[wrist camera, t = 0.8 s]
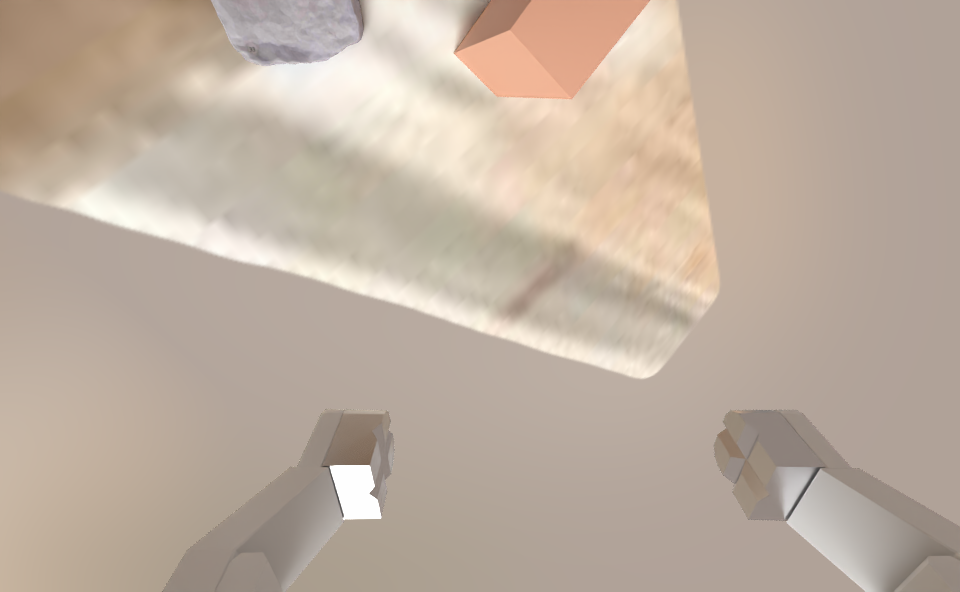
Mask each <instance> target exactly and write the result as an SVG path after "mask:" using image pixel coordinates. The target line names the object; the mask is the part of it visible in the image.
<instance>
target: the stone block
mask: <svg viewBox="0 0 960 592" xmlns="http://www.w3.org/2000/svg"><path fill="white" fill-rule="evenodd" d="M211 1H212V3H213V6H214V8H215V10H216V12H217V15H218V17H219V19H220V21H221V23H222V25H223V27H224V29H225V32H226V34H227V36H228V39H229V41H230V43H231V44H232V46H233V47H234V48H235V50H237V51H238V52H240V53H241V54H242V56H243V57H244V59H245V60H247V61H249V62H252V63H255V64H258V65H262V66H269V65H274V64H286V63H288V64H298V63H312V62H321V61H326V60H328V59H329V58H331V57H333V56H334V55H336V54H338V53H339V52H341V51H342V50H343V49H345V48H346V47H347V46H349V45H352V44H355V43H357V42H359V41H360V40H361V38H362V34H363V22H362V16H361V11H360V3H359V0H211Z"/></svg>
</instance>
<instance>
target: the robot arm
mask: <svg viewBox="0 0 960 592" xmlns="http://www.w3.org/2000/svg"><path fill="white" fill-rule="evenodd" d="M390 422H391V420H390V415H389V412H388V411H386V410H351V409H350V410H349V409H346V410H336V409H325V411H324V412H323V413H322V414H321V415H320V417H319V420H318V422H317V424H316V426H315V428H314V430H313V432H312V435H311V437H310V439H309V441H308V443H307V446H306V448H305V450H304V452H303V454H302V457H301V459H300V461H299V463H298V465H297V467H290V468H289V469H287V470H286V471H285V472H284V473H282V474H281V475H280V476H279V477H277V478H276V479H275V480H274V481H272V482H271V483H270V484H269V485H267V486H266V487H265V488H264V489H263V490H261V491H260V492H259V493H257V494H256V495H255V496H254V497H252V498H251V499H250V500H249V501H248V502H246V503H245V504H244V505H242V506H241V507H240V508H239V509H238V510H236V511H235V512H234V513H233V514H231V515H230V516H229V517H227V518H226V519H225V520H224V521H223V522H221V523H220V524H219V525H218V526H216V527H215V528H214V529H213V530H212V531H210V532H209V533H208V534H206V536H204V537H203V538H201V539H200V540H199V541H198V542H196V543H195V544H194V545H193V546H191V547H190V548H189V549H188V550H187V551H186V553H185V555H184V556H183V558H182V559H181V561H180V563H179V564H178V566H177V568H176V569H175V571H174V573H173V574H172V576H171V578H170V579H169V581H168V583H167V584H166V586H165V588H164V589H163V591H162V592H285V591H286V590H287V589H288V588H289V587H290V585H291V584H292V583H293V582H294V581H295V579H296V578H297V577H298V576H299V575H300V573H301V572H302V571H303V570H304V569H305V567H306V566H307V565H308V564H309V563H310V561H311V560H312V559H313V558H314V557H315V556H316V554H317V553H318V552H319V551H320V549H321V548H322V547H323V546H324V545H325V544H326V542H327V541H328V540H329V539H330V538H331V536H332V535H333V534H334V533H335V532H336V530H337V529H338V528H339V527H340V526H341V524H342V523H343V522H344V519H361V518H362V519H363V518H381V516H382V512H383V507H384V503H385V498H386V494H387V488H386V483H385V479H386V478H387V477H388V476H390V474H391V471H392V466H393V460H394V438H393V434H392V433H391V432H390V431H389V427H390ZM723 423H724V425H725V427H726V429H725V430H723V431H722V432H721V433H719V434H718V435H717V437H716V440H715V443H714V452H715V453H714V455H715V459H716V462H717V465H718V467H719V469H720V471H721V473H722V474H723V476H725V477H726V478H728V479H729V480H730V481H732V482H733V483H734V488H733V494H734V496H735V497H736V499H737V501H738V503H739V504H740V506H741V508H742V510H743V511H744V513H745V515H746V517H747V518H748V520H750V519H751V520H779V521H780V520H781V521H787V523H788V524H789V525H790V526H791V527H792V528H793V529H794V530H795V531H797V532H798V533H799V534H800V535H801V536H802V537H803V538H805V539H806V540H807V541H808V542H809V543H810V544H812V545H813V546H814V547H815V548H816V549H817V550H818V551H820V552H821V553H822V554H823V555H824V556H826V558H828V559H829V560H830V561H831V562H832V563H833V564H835V565H836V566H837V567H838V568H839V569H840V570H842V571H843V572H844V573H845V574H846V575H847V576H848V577H850V578H851V579H852V580H853V581H854V582H856V583H857V584H858V585H859V586H860V587H861V588H862V589H863V590H864V591H866V592H960V527H959V526H958V525H956V524H954V523H953V522H951V521H949V520H948V519H946V518H944V517H942V516H941V515H939V514H937V513H935V512H934V511H932V510H930V509H928V508H927V507H925V506H923V505H921V504H920V503H918V502H916V501H915V500H913V499H911V498H909V497H908V496H906V495H904V494H903V493H901V492H899V491H897V490H896V489H894V488H892V487H890V486H889V485H887V484H885V483H884V482H882V481H880V480H878V479H877V478H875V477H873V476H871V475H870V474H868V473H866V472H864V471H863V470H861V469H859V468H851V467H850V466H849V464H848V463H847V462H846V461H845V460H844V459H843V458H842V457H841V456H840V454H839V453H838V452H837V451H836V450H835V449H834V448H833V446H832V445H831V444H830V443H829V442H828V441H827V440H826V439H825V437H824V436H823V435H822V434H821V433H820V432H819V431H818V430H817V429H816V427H815V426H814V425H813V424H812V423H811V422H810V421H809V420H808V418H807V417H806V416H805V415H804V414H803V413H801V412H799V411H798V410H731V411H729V412H728V413H727V414H726V415H725V418H724V420H723Z"/></svg>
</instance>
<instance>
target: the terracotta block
mask: <svg viewBox="0 0 960 592" xmlns="http://www.w3.org/2000/svg"><path fill="white" fill-rule="evenodd" d="M649 1H650V0H491V1H490V3H489V4H488V5H487V7H486V8H485V10H484V11H483V12H482V14H481V15H480V17H479V18H478V19H477V21H476V22H475V24H474V25H473V26H472V28H471V29H470V31H469V32H468V34H467V35H466V36H465V38H464V39H463V41H462V42H461V43H460V45H459V46H458V48H457V49H456V50H455V52H454V54H455V55H456V56H457V57H458V58H459V59H460V60H461V61H462V62H463V63H464V64H465V65H466V66H467V67H468V68H469V69H470V70H471V71H472V72H473V73H474V74H475V75H476V76H477V77H478V78H479V79H480V80H481V81H482V82H483V83H484V84H485V85H486V86H487V87H488V88H489V89H490V90H491V91H492V92H493V93H494V94H495V95H496V96H497V97H525V98H553V99H572V98H573V97H574V96H575V95H576V93H577V92H578V91H579V89H580V88H581V87H582V86H583V84H584V83H585V82H586V81H587V79H588V78H589V77H590V76H591V74H592V73H593V72H594V71H595V69H596V68H597V67H598V65H599V64H600V63H601V62H602V60H603V59H604V58H605V57H606V55H607V54H608V53H609V52H610V50H611V49H612V48H613V47H614V45H615V44H616V43H617V41H618V40H619V39H620V38H621V36H622V35H623V34H624V33H625V31H626V30H627V29H628V28H629V26H630V25H631V24H632V23H633V21H634V20H635V19H636V17H637V16H638V15H639V14H640V12H641V11H642V10H643V9H644V7H645V6H646V5H647V4H648V2H649Z"/></svg>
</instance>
